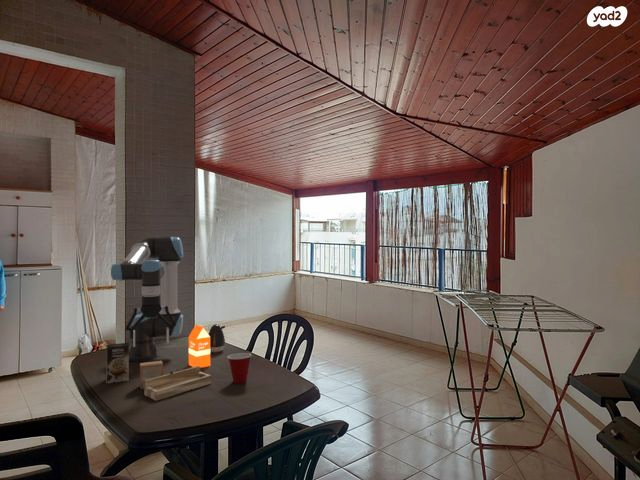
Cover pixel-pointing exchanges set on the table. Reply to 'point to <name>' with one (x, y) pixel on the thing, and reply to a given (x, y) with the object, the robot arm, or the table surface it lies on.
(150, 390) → the wooden tray
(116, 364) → the coffee box
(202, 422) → the table surface
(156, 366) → the wooden block
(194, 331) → the orange juice
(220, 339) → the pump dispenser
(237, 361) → the plastic cup
